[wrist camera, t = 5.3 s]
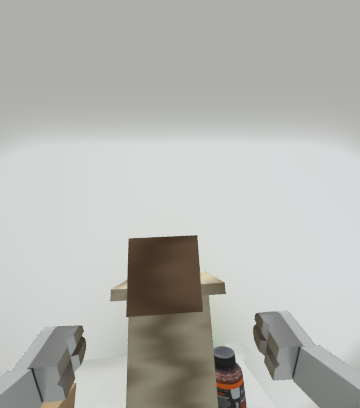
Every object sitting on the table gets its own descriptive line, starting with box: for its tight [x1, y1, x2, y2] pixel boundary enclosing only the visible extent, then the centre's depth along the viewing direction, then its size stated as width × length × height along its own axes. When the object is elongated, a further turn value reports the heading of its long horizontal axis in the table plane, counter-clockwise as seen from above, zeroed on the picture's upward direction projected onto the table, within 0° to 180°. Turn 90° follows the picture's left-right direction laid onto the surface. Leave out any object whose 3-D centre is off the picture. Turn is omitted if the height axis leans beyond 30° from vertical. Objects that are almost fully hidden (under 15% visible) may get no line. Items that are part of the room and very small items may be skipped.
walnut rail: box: [126, 235, 203, 317], centre depth 19 cm, size 4×20×4 cm, turn 2°
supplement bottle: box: [213, 346, 247, 408], centre depth 30 cm, size 6×6×11 cm
